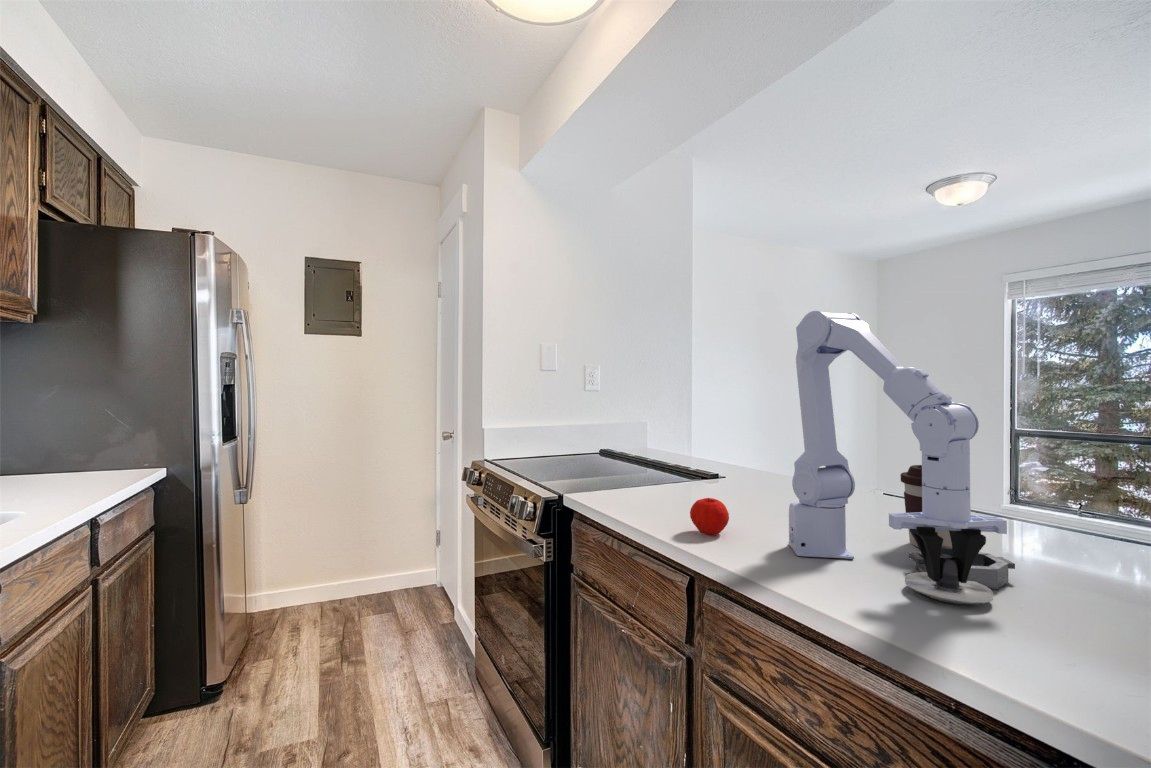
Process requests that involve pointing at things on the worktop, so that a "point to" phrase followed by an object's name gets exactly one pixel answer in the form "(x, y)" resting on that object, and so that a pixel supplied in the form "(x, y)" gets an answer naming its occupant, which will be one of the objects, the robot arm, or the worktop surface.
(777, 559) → the worktop surface
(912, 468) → the coffee cup
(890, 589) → the worktop surface
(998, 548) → the worktop surface
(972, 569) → the pot
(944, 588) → the lid
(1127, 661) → the worktop surface
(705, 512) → the apple
